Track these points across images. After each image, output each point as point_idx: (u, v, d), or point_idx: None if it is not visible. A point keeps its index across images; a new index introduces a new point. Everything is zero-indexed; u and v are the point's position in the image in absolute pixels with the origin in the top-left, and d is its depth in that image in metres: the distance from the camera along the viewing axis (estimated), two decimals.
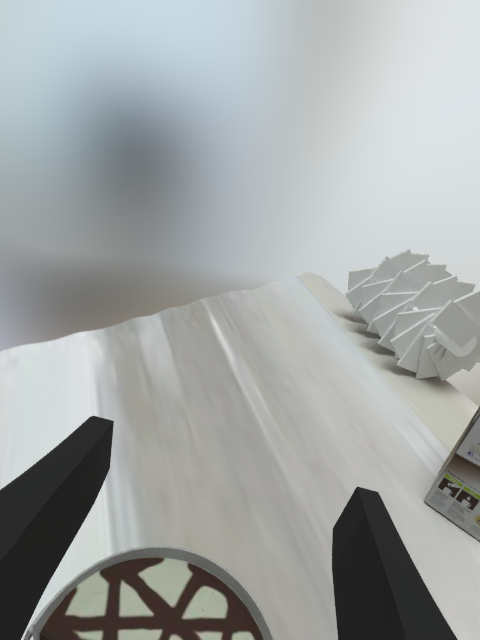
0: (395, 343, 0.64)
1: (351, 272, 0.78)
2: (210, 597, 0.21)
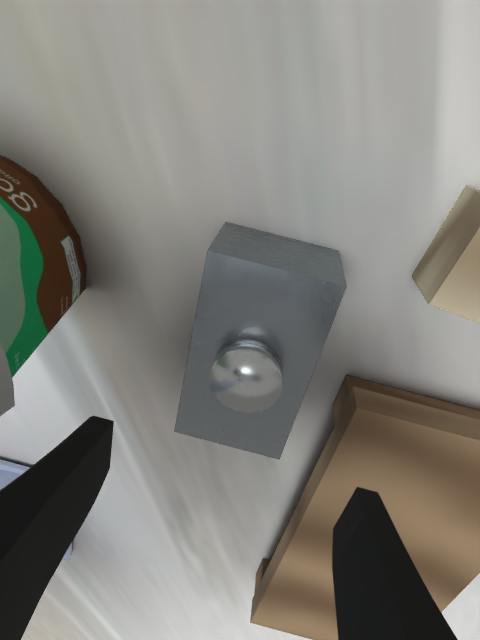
0: None
1: None
2: None
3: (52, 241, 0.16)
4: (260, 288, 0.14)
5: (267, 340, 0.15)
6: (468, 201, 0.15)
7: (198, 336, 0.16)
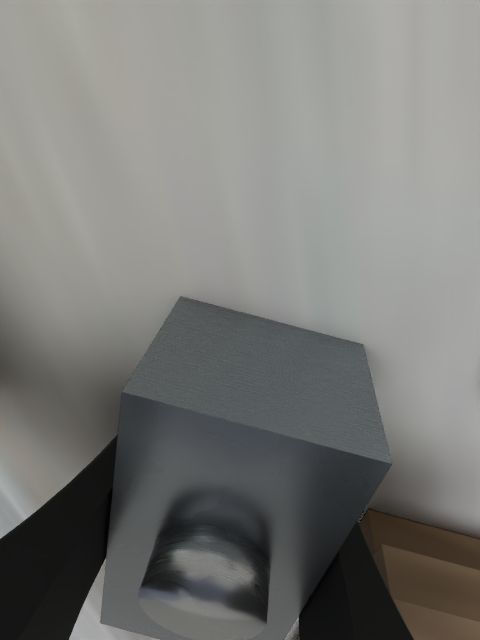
0: None
1: None
2: None
3: None
4: (226, 457, 0.08)
5: (242, 530, 0.09)
6: None
7: (121, 514, 0.09)
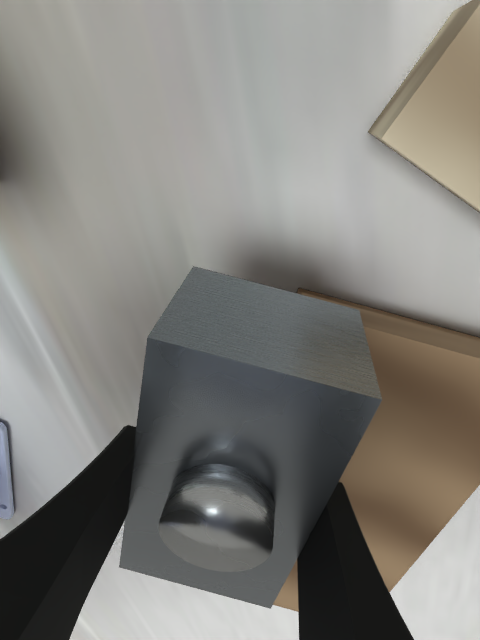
0: None
1: None
2: None
3: None
4: (238, 397, 0.09)
5: (250, 467, 0.10)
6: (452, 20, 0.12)
7: (143, 456, 0.10)
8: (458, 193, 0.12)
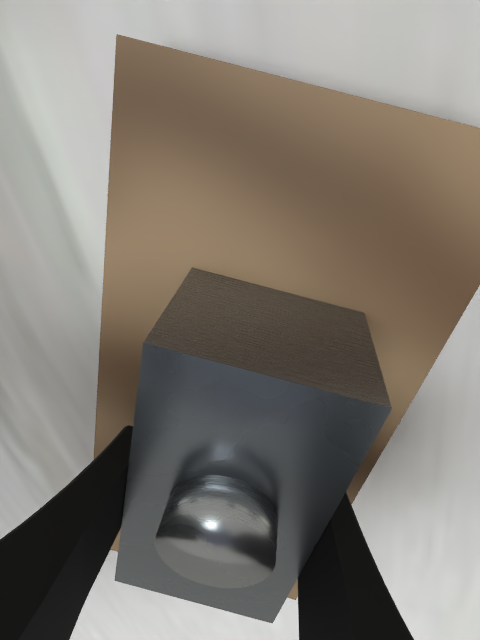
0: None
1: None
2: None
3: None
4: (239, 405, 0.08)
5: (252, 478, 0.09)
6: None
7: (139, 466, 0.10)
8: None
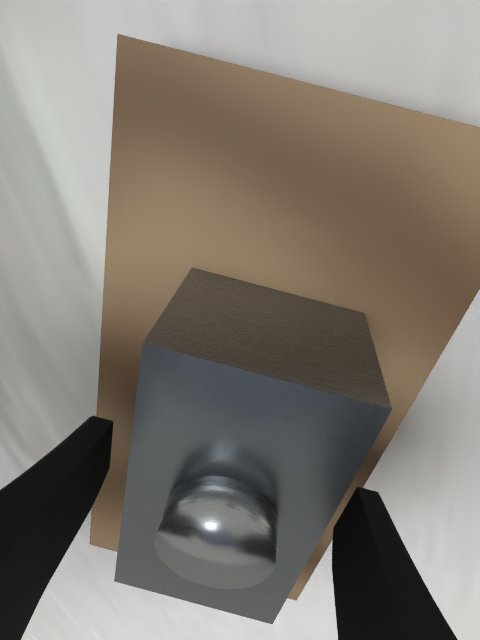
0: None
1: None
2: None
3: None
4: (238, 406, 0.08)
5: (252, 479, 0.09)
6: None
7: (138, 467, 0.10)
8: None
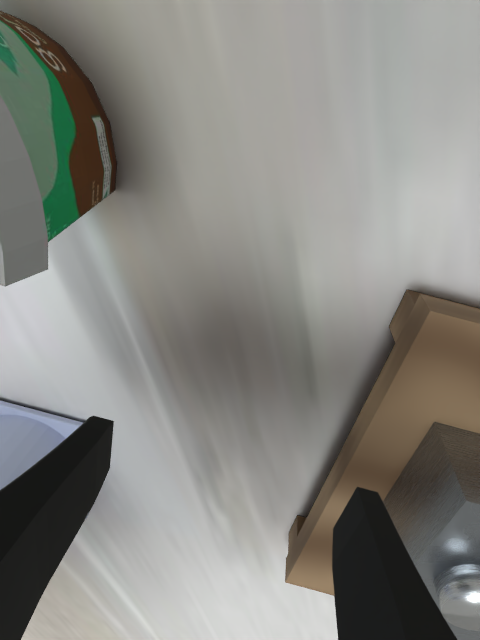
0: None
1: None
2: None
3: (83, 112, 0.14)
4: None
5: None
6: None
7: (427, 557, 0.16)
8: None
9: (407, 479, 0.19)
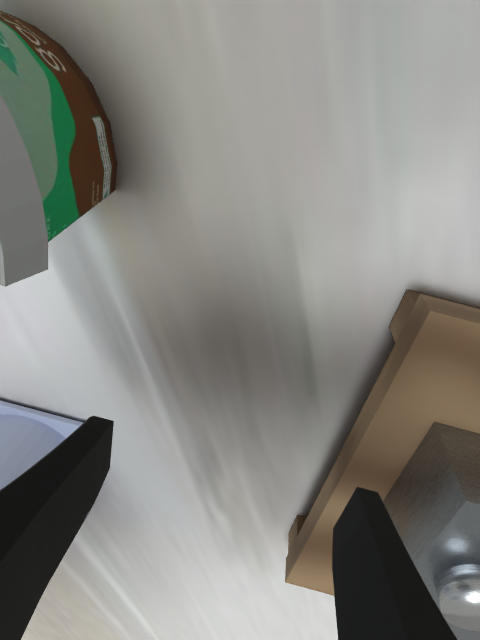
0: None
1: None
2: None
3: (83, 112, 0.14)
4: None
5: None
6: None
7: (427, 557, 0.16)
8: None
9: (407, 479, 0.19)
